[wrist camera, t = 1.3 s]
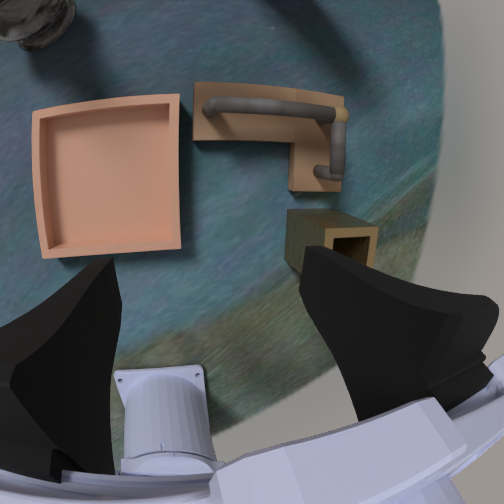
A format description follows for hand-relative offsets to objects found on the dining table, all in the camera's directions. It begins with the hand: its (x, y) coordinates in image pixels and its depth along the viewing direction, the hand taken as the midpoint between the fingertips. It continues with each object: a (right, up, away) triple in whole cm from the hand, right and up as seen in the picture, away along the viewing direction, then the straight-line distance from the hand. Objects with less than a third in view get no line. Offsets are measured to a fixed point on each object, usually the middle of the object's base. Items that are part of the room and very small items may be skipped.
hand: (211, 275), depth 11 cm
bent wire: (+2, +9, +10) cm, 13 cm away
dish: (-8, +6, +7) cm, 13 cm away
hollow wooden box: (+6, +2, +13) cm, 14 cm away
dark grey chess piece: (-14, +18, +2) cm, 23 cm away
